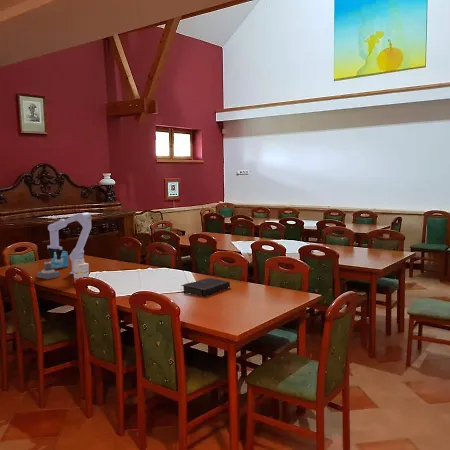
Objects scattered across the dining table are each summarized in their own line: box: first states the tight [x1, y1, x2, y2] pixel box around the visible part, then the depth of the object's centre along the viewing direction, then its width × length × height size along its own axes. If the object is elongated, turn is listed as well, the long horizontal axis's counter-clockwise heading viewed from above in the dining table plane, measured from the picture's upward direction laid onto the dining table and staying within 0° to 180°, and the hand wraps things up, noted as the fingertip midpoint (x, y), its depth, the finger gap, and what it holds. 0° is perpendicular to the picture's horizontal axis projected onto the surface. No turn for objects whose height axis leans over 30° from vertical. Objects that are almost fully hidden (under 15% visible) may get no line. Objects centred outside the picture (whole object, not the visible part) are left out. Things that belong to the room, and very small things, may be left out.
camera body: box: [36, 268, 60, 280], centre depth 324 cm, size 12×9×5 cm
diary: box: [180, 277, 231, 297], centre depth 281 cm, size 19×25×5 cm
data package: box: [50, 250, 69, 270], centre depth 358 cm, size 12×4×12 cm, turn 140°
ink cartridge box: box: [73, 257, 90, 283], centre depth 309 cm, size 9×5×15 cm, turn 141°
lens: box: [44, 260, 53, 271], centre depth 323 cm, size 5×5×7 cm
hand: (55, 258), depth 339 cm, fingers open, 7 cm apart
